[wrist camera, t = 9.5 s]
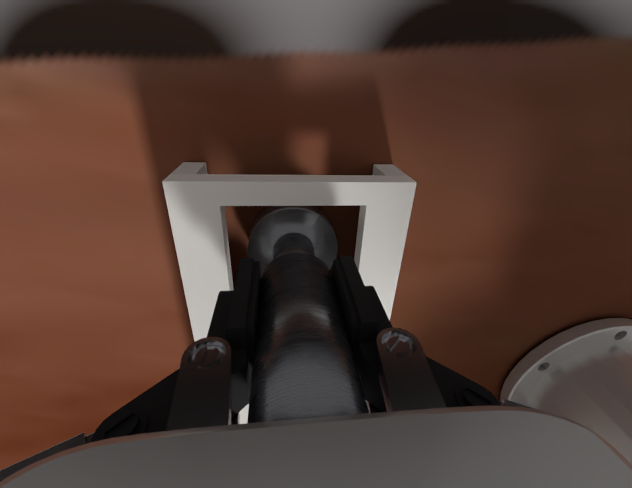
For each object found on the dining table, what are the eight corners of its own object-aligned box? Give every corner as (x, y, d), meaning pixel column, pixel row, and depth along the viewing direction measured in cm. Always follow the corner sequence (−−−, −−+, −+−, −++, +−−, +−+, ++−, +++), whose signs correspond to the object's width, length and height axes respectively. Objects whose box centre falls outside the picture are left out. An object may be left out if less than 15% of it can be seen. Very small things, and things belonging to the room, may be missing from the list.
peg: (331, 273, 18) (410, 564, 7) (252, 275, 17) (212, 592, 7) (336, 199, 16) (459, 458, 5) (247, 200, 15) (175, 486, 5)
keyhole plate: (354, 414, 25) (363, 454, 22) (226, 424, 24) (220, 468, 21) (393, 164, 15) (416, 182, 13) (183, 161, 14) (162, 181, 12)
